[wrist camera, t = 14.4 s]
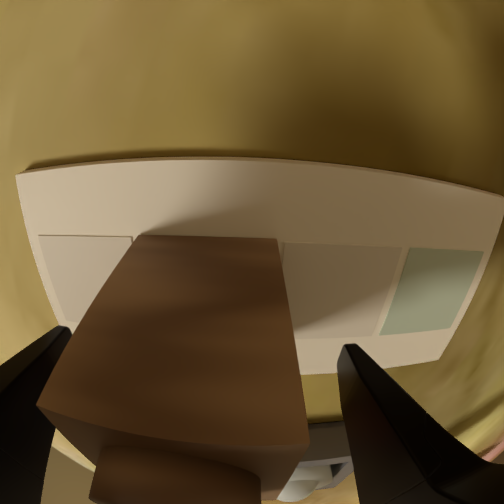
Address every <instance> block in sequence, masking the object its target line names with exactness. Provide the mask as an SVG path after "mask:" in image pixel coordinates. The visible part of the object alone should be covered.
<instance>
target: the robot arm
mask: <svg viewBox="0 0 504 504" xmlns="http://www.w3.org/2000/svg"><path fill="white" fill-rule="evenodd" d="M71 336H72V332H71V330H70V328H69V327H67V326H62V325H58V326H56V327H55V328H53V329H52V330H50V331H49V332H47V333H46V334H45V335H43V336H42V337H40V338H39V339H37V340H36V341H34V342H33V343H31V344H30V345H29V346H27V347H26V348H24V349H23V350H21V351H20V352H19V353H17V354H16V355H14V356H13V357H12V358H10V359H9V360H7V361H6V362H5V363H3V364H2V365H0V504H40V503H41V496H42V490H43V484H44V477H45V472H46V467H47V462H48V457H49V453H50V448H51V444H52V440H53V436H54V432H55V429H56V427H55V426H54V425H53V424H52V423H51V422H50V421H49V420H48V418H47V417H46V416H45V415H44V414H43V413H42V412H41V410H40V409H39V408H38V407H37V406H36V404H37V401H38V399H39V397H40V395H41V393H42V391H43V389H44V387H45V385H46V383H47V381H48V379H49V377H50V375H51V373H52V371H53V369H54V367H55V365H56V363H57V362H58V360H59V358H60V356H61V354H62V352H63V351H64V349H65V347H66V345H67V343H68V342H69V340H70V338H71ZM337 374H338V383H339V392H340V402H341V410H342V415H343V419H344V424H345V429H346V433H347V438H348V443H349V448H350V453H351V458H352V463H353V469H354V474H355V480H356V485H357V491H358V497H359V503H360V504H504V464H496V463H491V462H488V461H486V460H484V459H482V458H480V457H479V456H477V455H476V454H475V453H474V452H472V451H471V450H470V449H468V448H467V447H466V446H465V445H463V444H462V443H461V442H460V441H458V440H457V439H456V438H454V437H453V436H452V435H451V434H450V433H449V432H447V431H446V430H445V429H444V428H443V427H442V426H441V425H440V424H439V423H437V422H436V421H435V420H434V419H433V418H432V417H431V416H430V415H429V414H428V413H426V411H425V410H424V409H423V408H422V407H421V406H420V405H419V404H418V403H417V402H416V401H415V400H414V399H413V398H412V397H411V396H410V395H409V394H408V393H407V392H406V391H405V390H404V389H403V388H402V387H401V386H400V385H399V384H398V383H397V382H396V381H395V380H394V379H393V378H392V377H391V376H389V375H388V374H387V373H386V372H385V371H384V370H383V369H382V368H381V367H380V366H379V365H378V364H377V363H376V362H375V361H374V360H373V359H372V358H371V357H370V356H369V355H368V354H367V353H366V352H365V351H364V350H363V349H362V348H361V347H360V346H359V345H358V344H356V343H351V344H344V345H343V347H342V349H341V352H340V355H339V358H338V360H337Z"/></svg>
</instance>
